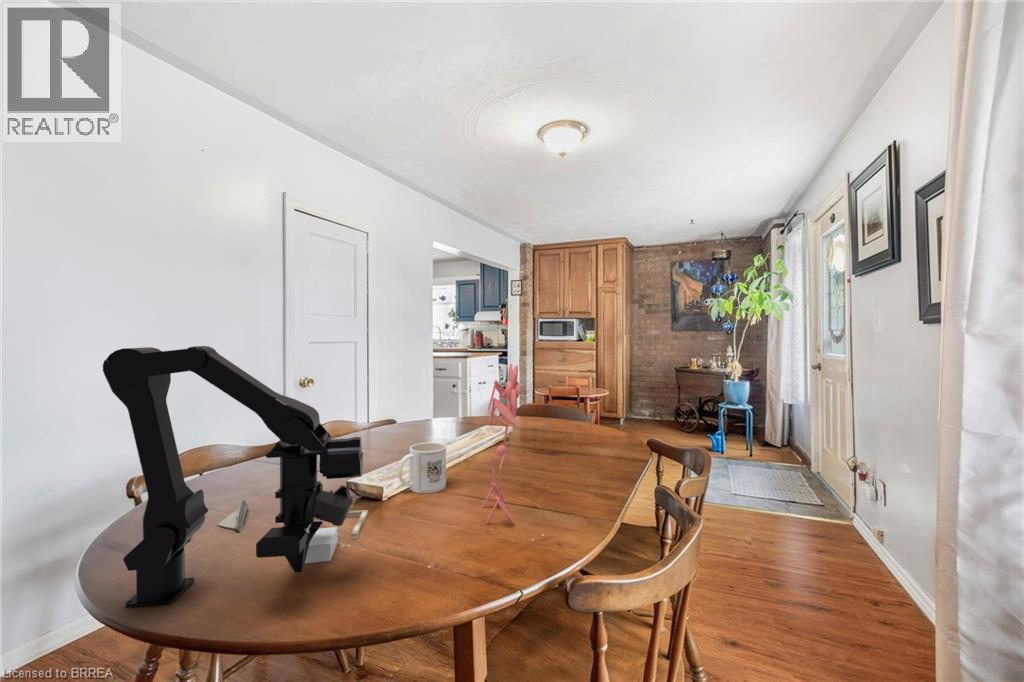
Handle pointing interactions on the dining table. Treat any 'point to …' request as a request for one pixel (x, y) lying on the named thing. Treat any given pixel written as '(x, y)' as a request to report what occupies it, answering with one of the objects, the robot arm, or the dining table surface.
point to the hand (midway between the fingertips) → (298, 571)
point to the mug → (425, 467)
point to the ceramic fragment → (235, 518)
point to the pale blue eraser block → (322, 545)
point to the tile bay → (357, 528)
